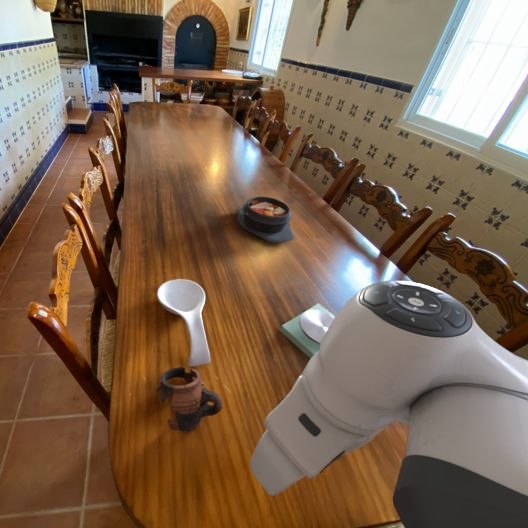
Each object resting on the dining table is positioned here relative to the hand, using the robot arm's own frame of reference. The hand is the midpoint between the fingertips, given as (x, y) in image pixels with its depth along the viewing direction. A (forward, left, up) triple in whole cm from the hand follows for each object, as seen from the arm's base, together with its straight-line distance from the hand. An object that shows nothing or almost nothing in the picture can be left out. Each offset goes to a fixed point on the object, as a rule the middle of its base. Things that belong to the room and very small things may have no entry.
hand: (299, 447), depth 42 cm
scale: (+11, -29, -10) cm, 33 cm away
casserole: (+54, -53, -10) cm, 77 cm away
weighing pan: (+13, -28, -6) cm, 32 cm away
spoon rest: (+33, -4, -10) cm, 34 cm away
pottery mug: (+16, +7, -10) cm, 20 cm away
